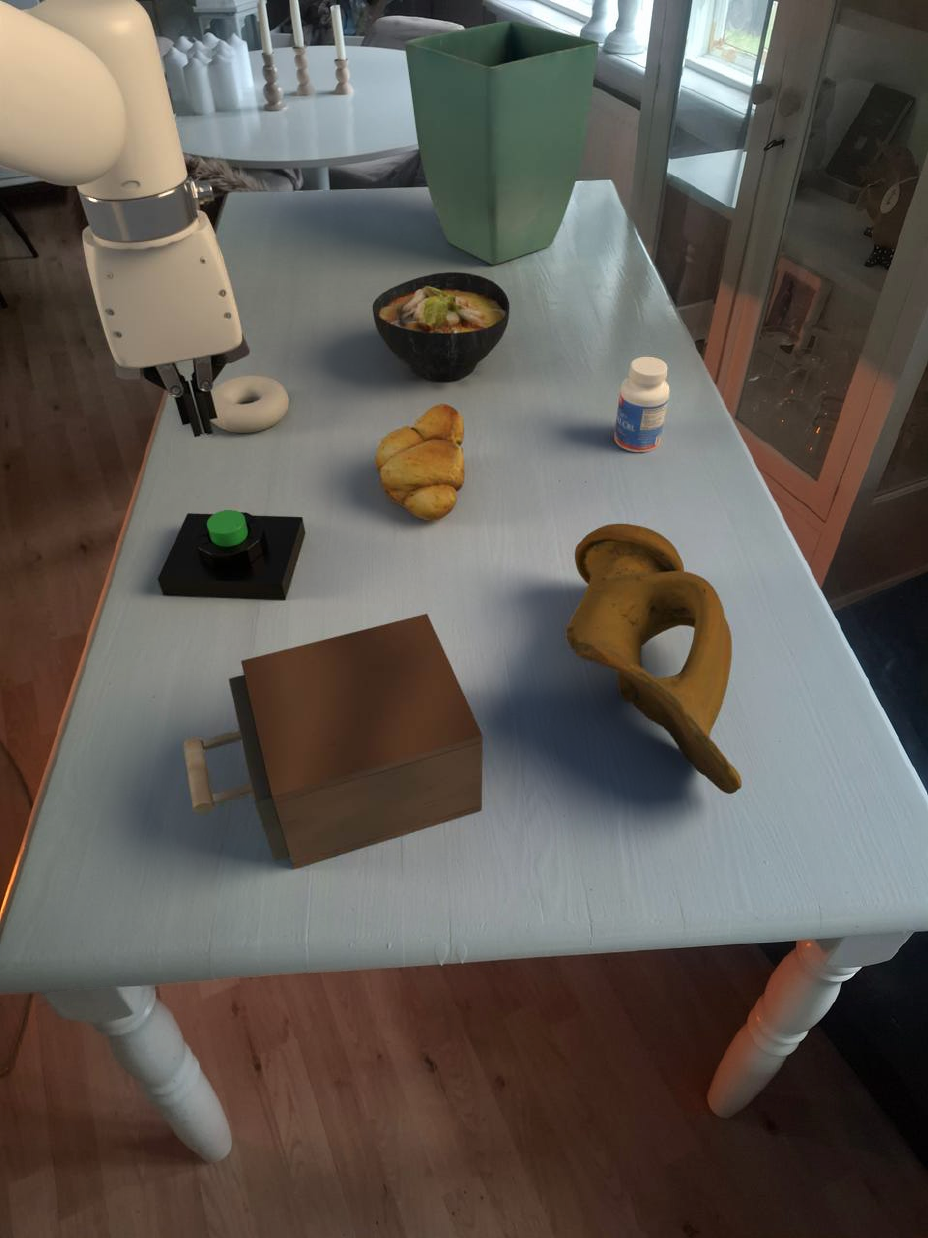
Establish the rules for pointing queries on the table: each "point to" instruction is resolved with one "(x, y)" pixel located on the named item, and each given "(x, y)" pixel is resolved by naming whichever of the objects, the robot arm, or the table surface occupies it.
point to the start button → (227, 528)
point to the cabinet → (364, 738)
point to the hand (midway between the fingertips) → (201, 426)
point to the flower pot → (501, 131)
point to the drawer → (255, 765)
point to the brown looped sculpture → (639, 610)
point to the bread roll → (424, 463)
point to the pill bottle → (642, 405)
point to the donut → (263, 401)
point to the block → (234, 560)
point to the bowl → (442, 323)
